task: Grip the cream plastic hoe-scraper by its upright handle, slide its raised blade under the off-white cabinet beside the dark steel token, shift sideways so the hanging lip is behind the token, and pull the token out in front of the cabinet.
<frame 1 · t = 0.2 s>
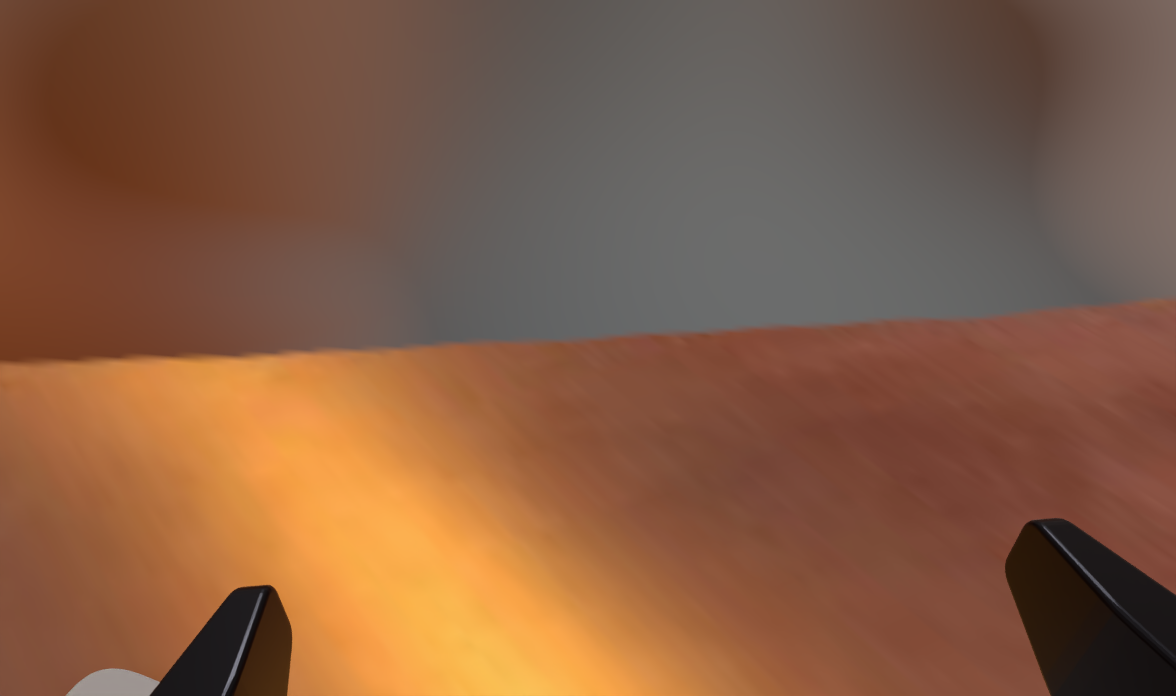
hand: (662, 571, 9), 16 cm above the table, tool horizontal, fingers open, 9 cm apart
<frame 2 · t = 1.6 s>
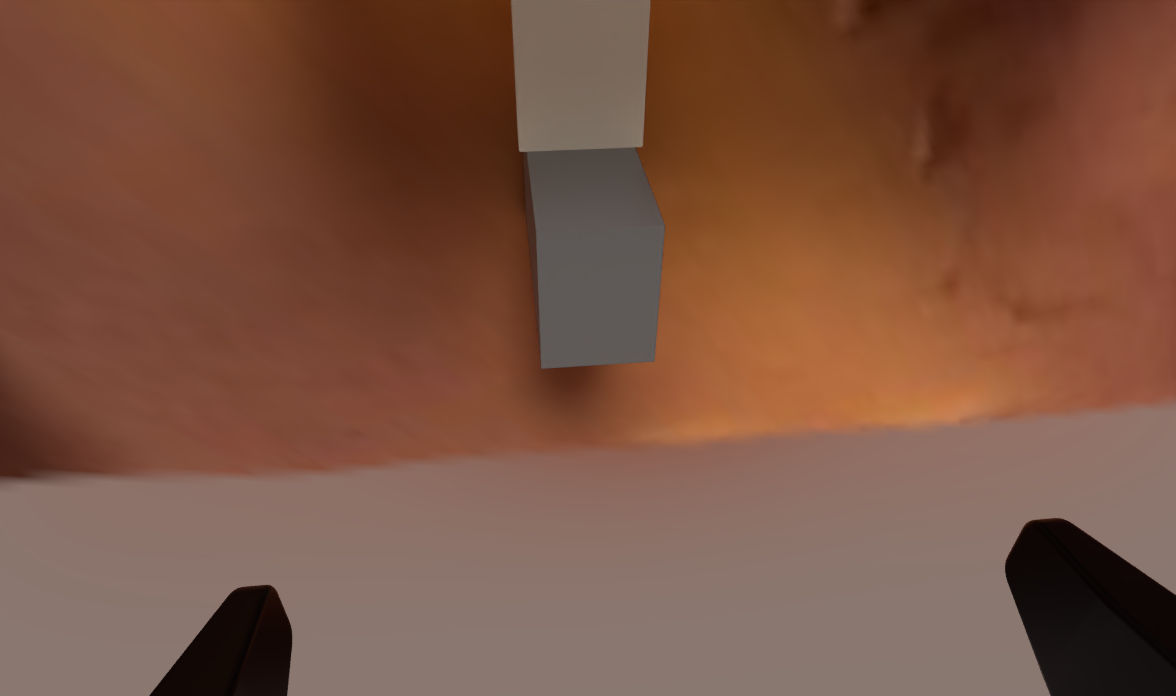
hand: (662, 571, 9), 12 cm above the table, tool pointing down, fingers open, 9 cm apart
scraper: (569, 159, 19), on the table
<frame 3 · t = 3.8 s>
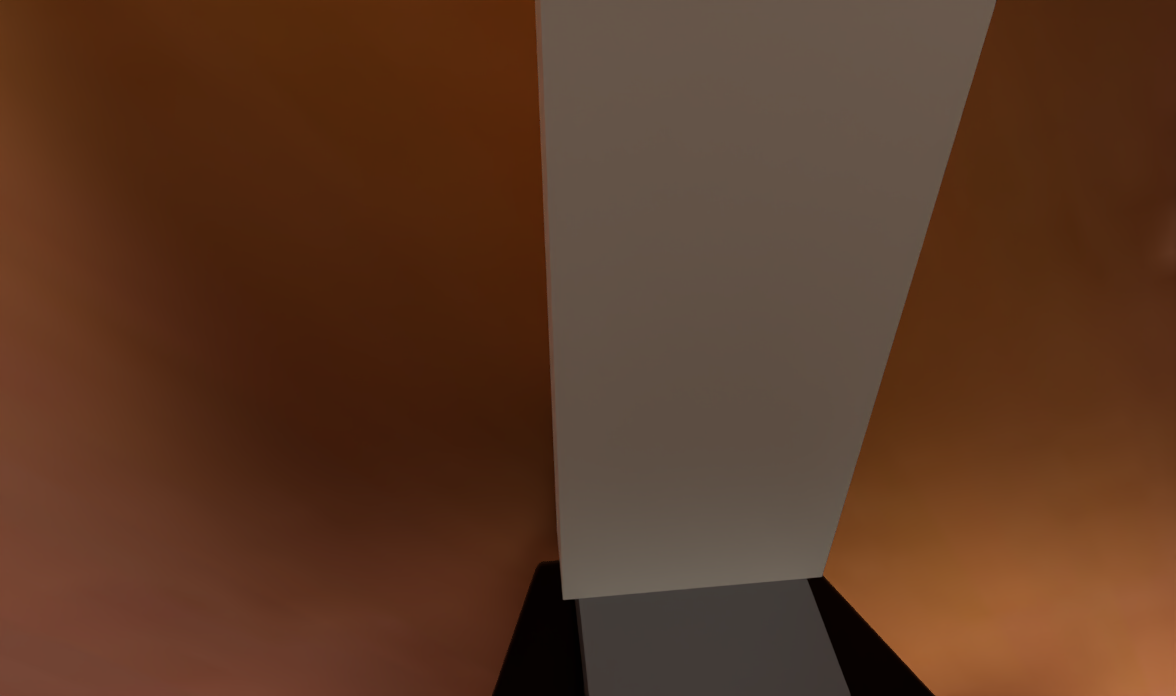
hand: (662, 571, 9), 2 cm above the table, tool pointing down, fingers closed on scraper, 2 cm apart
scraper: (642, 476, 11), on the table, touching gripper
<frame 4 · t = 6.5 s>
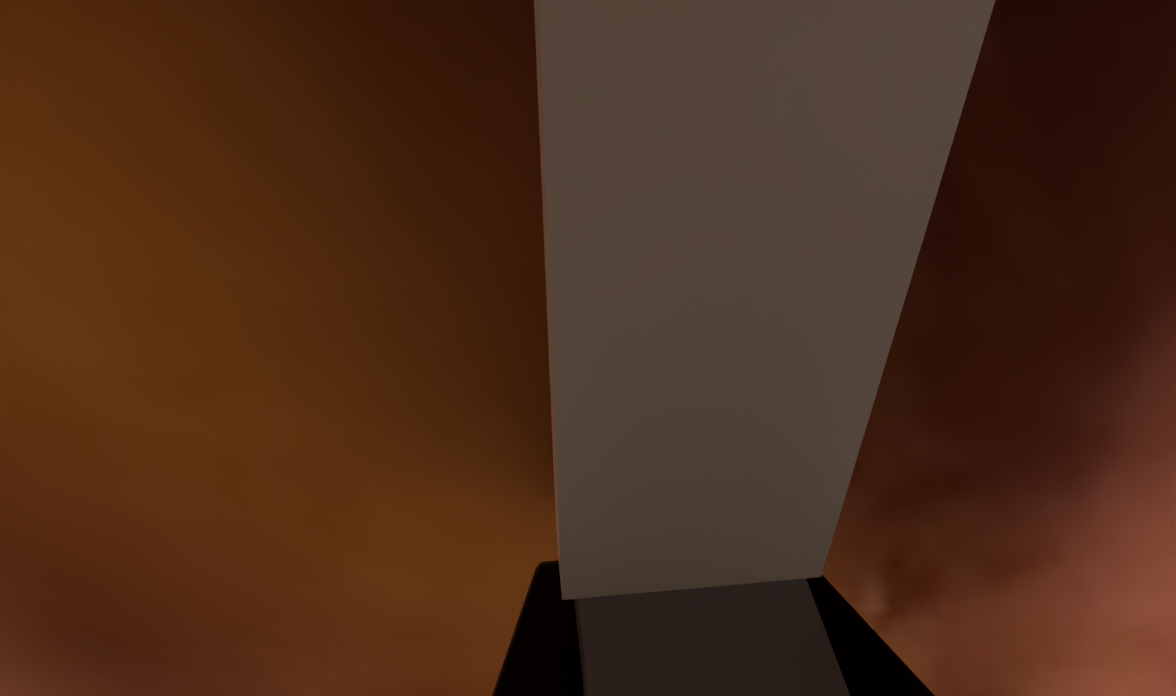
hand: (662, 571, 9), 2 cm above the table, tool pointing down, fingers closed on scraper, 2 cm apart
scraper: (641, 476, 11), point 1 cm above the table, touching gripper
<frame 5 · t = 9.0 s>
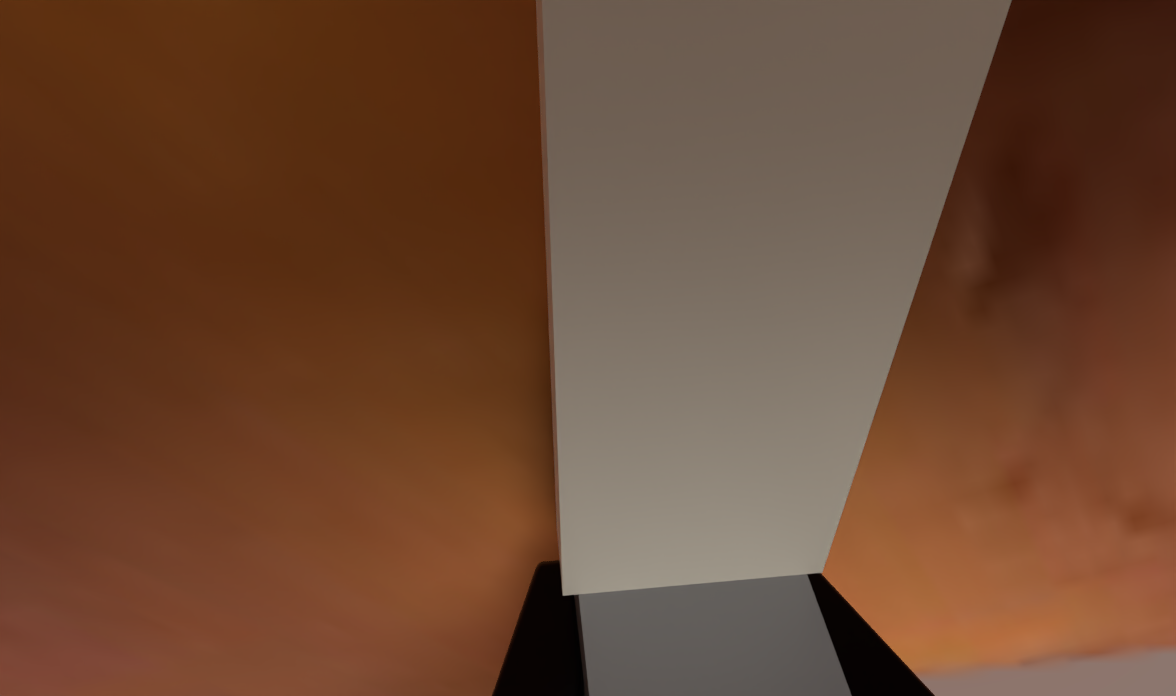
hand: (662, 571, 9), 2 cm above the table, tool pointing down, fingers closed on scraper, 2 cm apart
scraper: (641, 467, 11), on the table, touching gripper
when the fingers open (2 cm above the table, at t = 9.4 s): scraper stays where it is, on the table.
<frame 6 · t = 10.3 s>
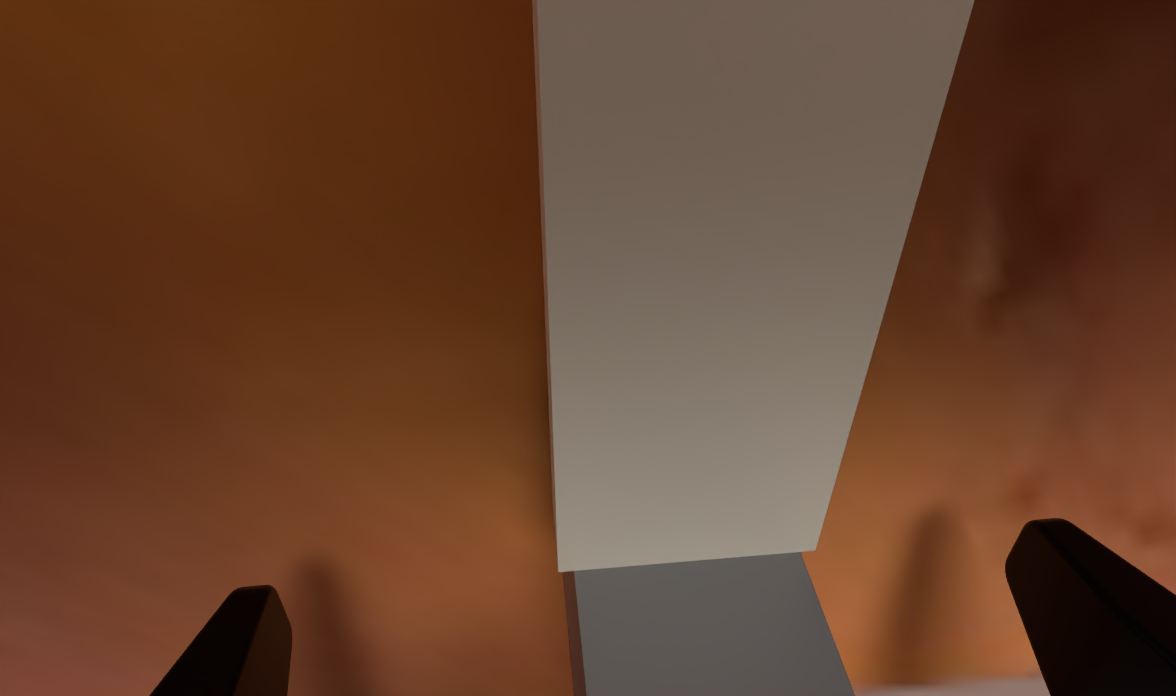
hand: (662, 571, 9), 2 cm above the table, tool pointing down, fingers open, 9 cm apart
scraper: (638, 458, 11), on the table
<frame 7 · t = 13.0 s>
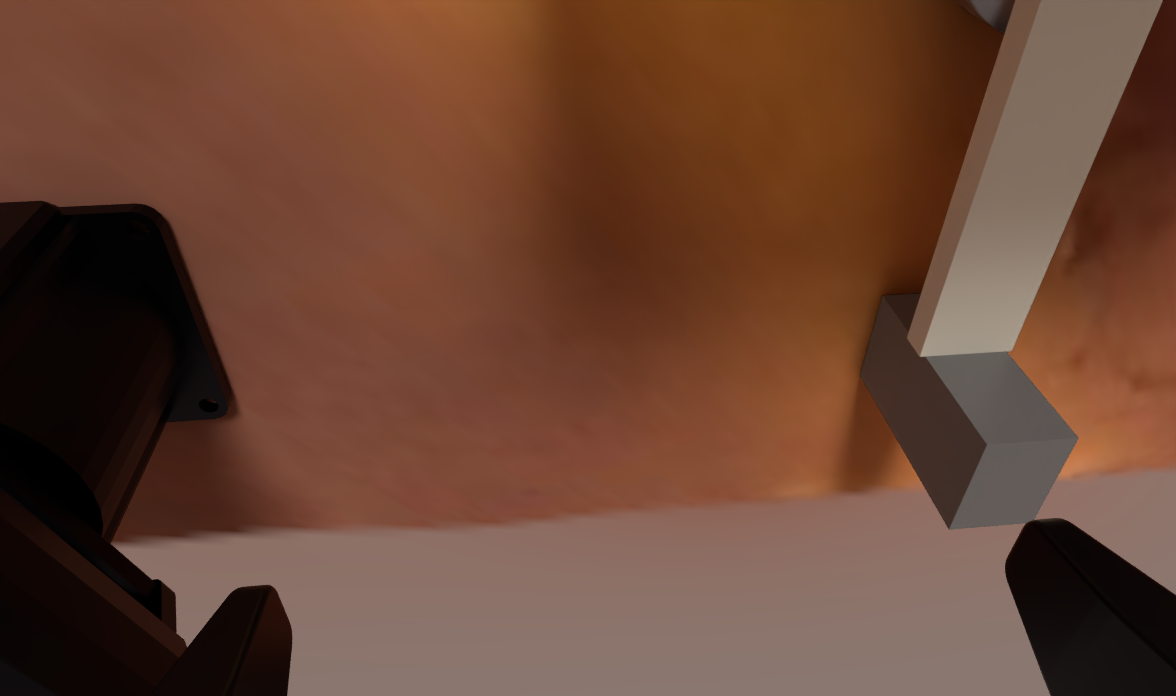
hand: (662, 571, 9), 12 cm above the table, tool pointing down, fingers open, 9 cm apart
scraper: (906, 334, 23), on the table
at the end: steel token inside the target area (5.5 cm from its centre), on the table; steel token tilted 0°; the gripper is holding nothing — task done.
